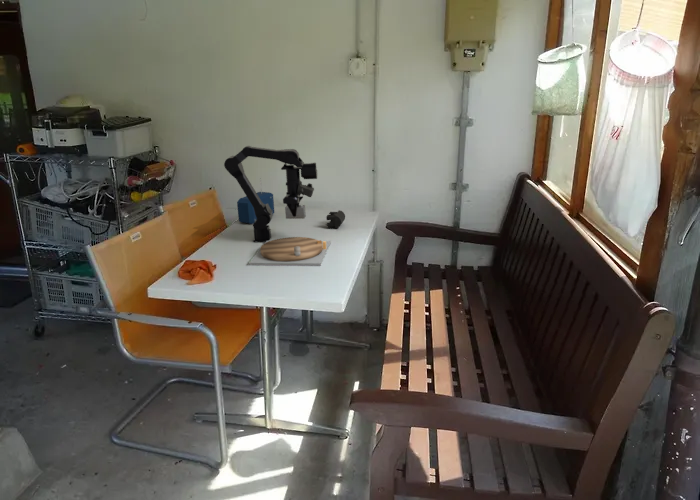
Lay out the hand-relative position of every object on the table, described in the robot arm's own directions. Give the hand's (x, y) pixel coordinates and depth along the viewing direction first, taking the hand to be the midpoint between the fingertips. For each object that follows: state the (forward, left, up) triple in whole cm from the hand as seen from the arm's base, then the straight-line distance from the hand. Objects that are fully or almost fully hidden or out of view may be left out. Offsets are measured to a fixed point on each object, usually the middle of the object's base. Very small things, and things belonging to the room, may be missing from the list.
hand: (295, 215), depth 236 cm
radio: (-27, +33, -11) cm, 45 cm away
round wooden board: (+2, -20, -10) cm, 22 cm away
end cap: (+15, +20, -11) cm, 28 cm away
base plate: (+2, -20, -11) cm, 23 cm away
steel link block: (0, 0, -1) cm, 1 cm away
